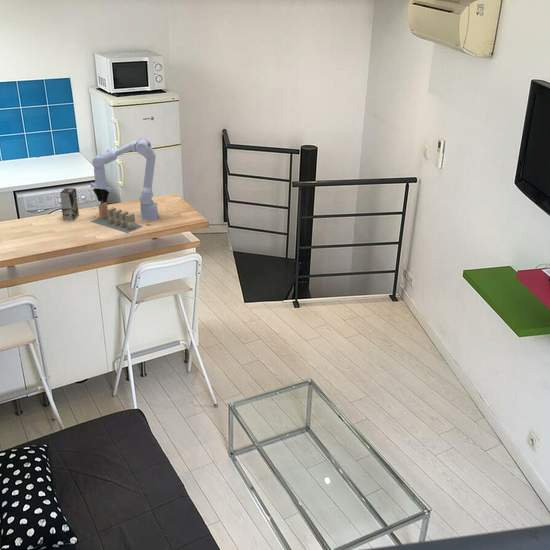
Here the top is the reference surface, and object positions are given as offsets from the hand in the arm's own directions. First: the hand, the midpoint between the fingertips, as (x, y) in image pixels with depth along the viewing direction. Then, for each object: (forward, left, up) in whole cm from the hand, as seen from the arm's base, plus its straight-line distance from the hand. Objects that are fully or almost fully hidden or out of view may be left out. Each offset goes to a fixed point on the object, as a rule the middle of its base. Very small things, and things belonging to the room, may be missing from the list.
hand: (102, 201), depth 343 cm
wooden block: (-13, +14, -9) cm, 21 cm away
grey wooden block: (-9, +11, -9) cm, 17 cm away
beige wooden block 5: (-16, +17, -9) cm, 25 cm away
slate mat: (-8, +10, -10) cm, 16 cm away
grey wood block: (-6, +8, -9) cm, 13 cm away
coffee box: (+18, -1, -10) cm, 21 cm away
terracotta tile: (0, 0, -9) cm, 9 cm away
